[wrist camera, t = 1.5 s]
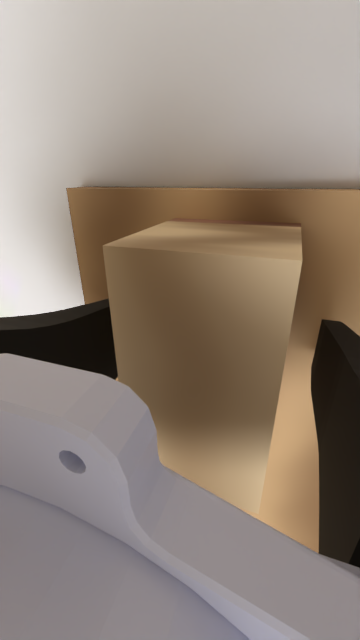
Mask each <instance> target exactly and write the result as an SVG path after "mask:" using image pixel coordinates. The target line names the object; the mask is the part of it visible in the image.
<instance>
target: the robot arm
mask: <svg viewBox="0 0 360 640" xmlns="http://www.w3.org/2000/svg"><path fill="white" fill-rule="evenodd" d="M117 377H118V372H117V364H116V355H115V347H114V338H113V330H112V321H111V313H110V305H109V298H108V299H104V300H101V301H97V302H93V303H89V304H86V305H81V306H77V307H73V308H69V309H65V310H60V311H55V312H49V313H43V314H36V315H26V316H16V317H2V318H0V640H360V336H359V335H357V334H356V333H355V332H354V331H353V330H351V329H350V328H349V327H348V326H347V325H345V324H344V323H343V322H341V321H333V320H325V319H322V321H321V325H320V330H319V334H318V339H317V343H316V348H315V352H314V357H313V361H312V366H311V396H312V404H313V411H314V418H315V426H316V433H317V440H318V452H319V554H318V553H317V552H315V551H313V550H311V549H309V548H308V547H306V546H304V545H302V544H301V543H299V542H297V541H295V540H294V539H292V538H290V537H288V536H287V535H285V534H283V533H281V532H280V531H278V530H276V529H274V528H273V527H271V526H269V525H267V524H266V523H264V522H262V521H260V520H259V519H257V518H255V517H253V516H252V515H250V514H248V513H246V512H244V511H243V510H241V509H239V508H237V507H236V506H234V505H232V504H230V503H229V502H227V501H225V500H223V499H222V498H220V497H218V496H216V495H215V494H213V493H211V492H209V491H208V490H206V489H204V488H202V487H201V486H199V485H197V484H195V483H194V482H192V481H190V480H188V479H186V478H185V477H183V476H181V475H179V474H178V473H176V472H174V471H172V470H171V469H169V468H167V467H165V466H164V465H163V464H162V463H161V462H160V460H159V455H158V447H157V430H156V427H155V424H154V421H153V419H152V416H151V413H150V410H149V408H148V406H147V405H146V404H145V403H144V401H143V400H142V399H141V398H140V397H139V396H138V395H137V394H136V393H135V392H134V391H133V390H132V389H131V388H130V387H129V386H127V385H125V384H123V383H121V382H118V381H116V380H115V379H116V378H117Z"/></svg>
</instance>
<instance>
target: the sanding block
mask: <svg viewBox="0 0 360 640" xmlns="http://www.w3.org/2000/svg"><path fill="white" fill-rule="evenodd" d="M103 254H104V262H105V271H106V279H107V288H108V296H109V305H110V313H111V321H112V330H113V338H114V347H115V355H116V364H117V372H118V380H119V382H121V383H123V384H125V385H127V386H129V387H130V388H131V389H132V390H133V391H134V392H135V393H136V394H137V395H138V396H139V397H140V398H141V399H142V400H143V401H144V403H145V404H146V405H147V406H148V408H149V410H150V413H151V416H152V419H153V421H154V424H155V427H156V430H157V447H158V455H159V460H160V462H161V463H162V464H163V465H164V466H165V467H167V468H169V469H171V470H172V471H174V472H176V473H178V474H179V475H181V476H183V477H185V478H186V479H188V480H190V481H192V482H194V483H195V484H197V485H199V486H201V487H202V488H204V489H206V490H208V491H209V492H211V493H213V494H215V495H216V496H218V497H220V498H222V499H223V500H225V501H227V502H229V503H230V504H232V505H234V506H236V507H239V508H242V509H245V510H248V511H251V512H254V513H257V514H259V509H260V503H261V497H262V491H263V486H264V480H265V474H266V468H267V462H268V457H269V451H270V445H271V439H272V434H273V428H274V422H275V416H276V411H277V405H278V399H279V393H280V388H281V382H282V376H283V370H284V365H285V359H286V353H287V347H288V341H289V336H290V330H291V324H292V318H293V313H294V307H295V301H296V295H297V290H298V284H299V278H300V272H301V267H302V236H301V223H281V222H257V221H232V220H208V219H183V218H174V219H171V220H169V221H166V222H163V223H161V224H158V225H155V226H153V227H150V228H148V229H145V230H142V231H140V232H137V233H134V234H132V235H129V236H126V237H124V238H121V239H118V240H116V241H113V242H111V243H108V244H105V245H103Z"/></svg>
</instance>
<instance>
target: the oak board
mask: <svg viewBox="0 0 360 640" xmlns="http://www.w3.org/2000/svg"><path fill="white" fill-rule="evenodd" d="M66 189H67V195H68V202H69V208H70V214H71V220H72V226H73V233H74V239H75V245H76V251H77V258H78V264H79V270H80V276H81V283H82V289H83V295H84V301H85V305H86V304H89V303H93V302H97V301H101V300H104V299H108V298H109V296H108V288H107V279H106V271H105V262H104V254H103V245H105V244H108V243H111V242H113V241H116V240H118V239H121V238H124V237H126V236H129V235H132V234H134V233H137V232H140V231H142V230H145V229H148V228H150V227H153V226H155V225H158V224H161V223H163V222H166V221H169V220H171V219H174V218H183V219H208V220H232V221H257V222H281V223H301V236H302V267H301V272H300V278H299V284H298V290H297V295H296V301H295V307H294V313H293V318H292V324H291V330H290V336H289V341H288V347H287V353H286V359H285V365H284V370H283V376H282V382H281V388H280V393H279V399H278V405H277V411H276V416H275V422H274V428H273V434H272V439H271V445H270V451H269V457H268V462H267V468H266V474H265V480H264V486H263V491H262V497H261V503H260V509H259V514H257V513H254V512H251V511H248V510H245V509H242V508H239V507H237V508H239V509H241V510H243V511H244V512H246V513H248V514H250V515H252V516H253V517H255V518H257V519H259V520H260V521H262V522H264V523H266V524H267V525H269V526H271V527H273V528H274V529H276V530H278V531H280V532H281V533H283V534H285V535H287V536H288V537H290V538H292V539H294V540H295V541H297V542H299V543H301V544H302V545H304V546H306V547H308V548H309V549H311V550H313V551H315V552H317V553H318V554H319V452H318V440H317V433H316V426H315V418H314V411H313V404H312V396H311V366H312V361H313V357H314V352H315V348H316V343H317V339H318V334H319V330H320V325H321V321H322V319H325V320H333V321H341V322H343V323H344V324H345V325H347V326H348V327H349V328H350V329H351V330H353V331H354V332H355V333H356V334H357V335H359V336H360V189H265V188H151V187H77V188H66ZM115 380H116V381H118V382H119V380H118V377H117V378H116V379H115Z"/></svg>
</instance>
